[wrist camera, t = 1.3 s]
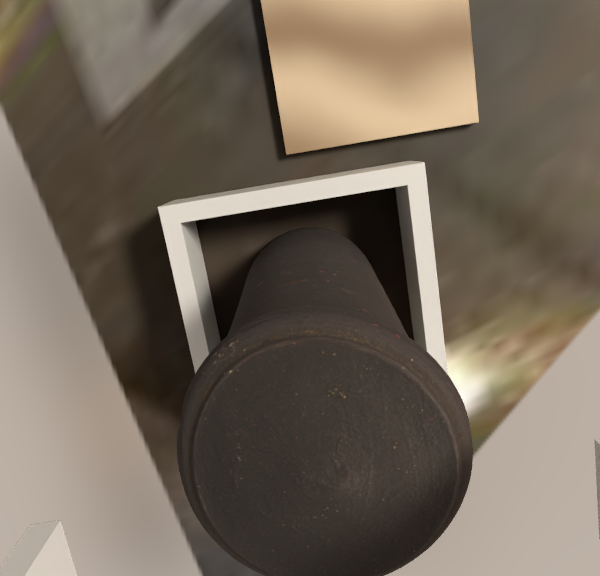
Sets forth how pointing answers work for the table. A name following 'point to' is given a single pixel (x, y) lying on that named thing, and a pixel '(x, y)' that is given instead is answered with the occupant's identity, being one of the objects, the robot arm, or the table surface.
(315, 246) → the container
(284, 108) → the cork mat
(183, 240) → the frame
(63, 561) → the robot arm
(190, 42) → the table surface
